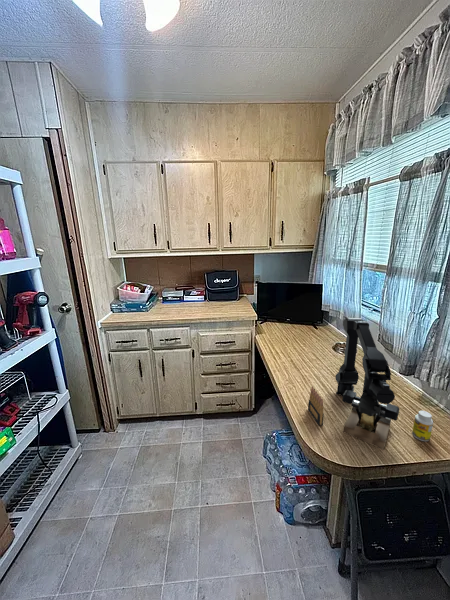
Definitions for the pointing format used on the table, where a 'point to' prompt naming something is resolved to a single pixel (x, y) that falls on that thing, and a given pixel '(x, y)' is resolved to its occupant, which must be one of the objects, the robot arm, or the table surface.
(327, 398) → the table surface
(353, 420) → the jig
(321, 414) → the tan upright panel
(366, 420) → the cylinder
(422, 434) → the supplement bottle
